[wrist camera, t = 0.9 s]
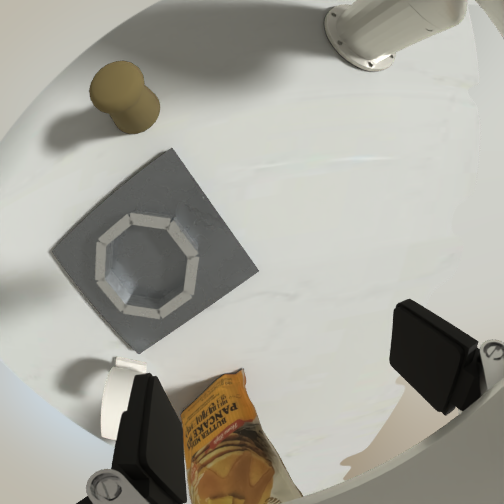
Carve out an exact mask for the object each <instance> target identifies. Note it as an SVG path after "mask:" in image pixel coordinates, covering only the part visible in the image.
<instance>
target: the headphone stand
mask: <svg viewBox="0 0 504 504" xmlns="http://www.w3.org/2000/svg"><path fill="white" fill-rule="evenodd" d="M146 364H147V363H146V362H141V361H136V360H131V359H126V358H122V357H117V358H116V367H112V368H111V370H110V372H109V374H108V377H107V380H106V383H105V387H104V392H103V398H102V407H101V434H102V437H104V438H108V439H112V440H116V439H117V434H118V429H119V424H120V419H121V415H122V413H123V412H124V411H127V407H128V403H129V398H130V393H131V389H132V385H133V380H134V377H135V375H139V374H146Z"/></svg>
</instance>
